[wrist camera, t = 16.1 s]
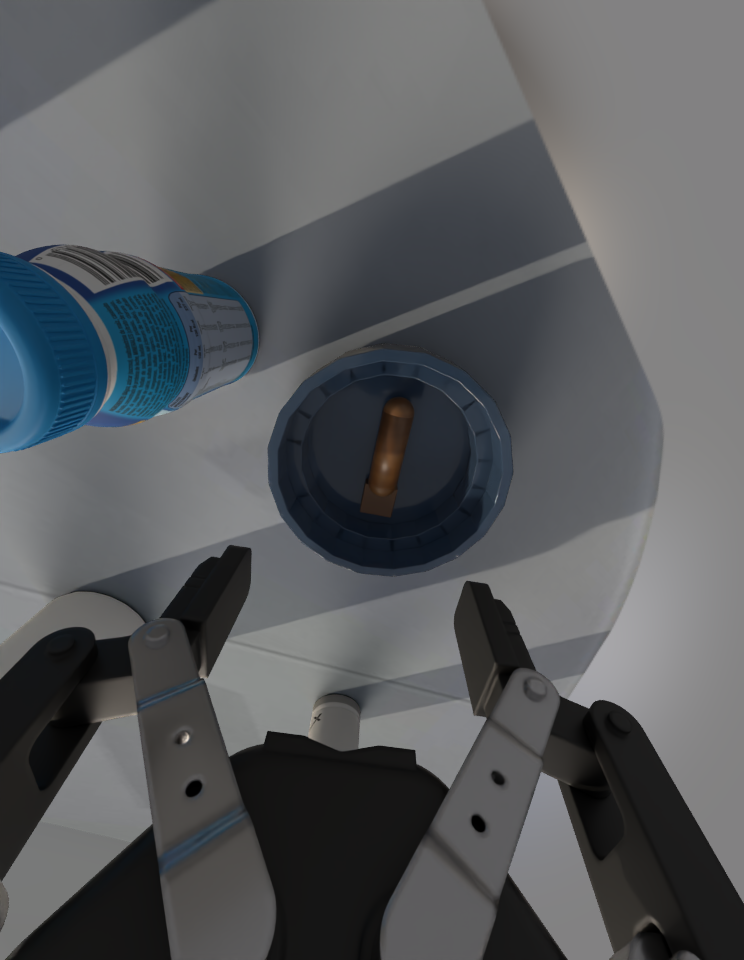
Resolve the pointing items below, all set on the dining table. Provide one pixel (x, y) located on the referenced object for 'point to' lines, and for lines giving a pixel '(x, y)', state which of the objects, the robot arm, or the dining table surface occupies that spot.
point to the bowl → (425, 469)
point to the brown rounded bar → (388, 458)
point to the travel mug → (336, 722)
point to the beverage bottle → (110, 341)
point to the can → (71, 623)
